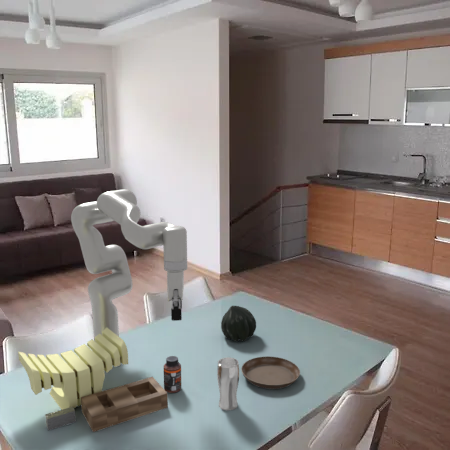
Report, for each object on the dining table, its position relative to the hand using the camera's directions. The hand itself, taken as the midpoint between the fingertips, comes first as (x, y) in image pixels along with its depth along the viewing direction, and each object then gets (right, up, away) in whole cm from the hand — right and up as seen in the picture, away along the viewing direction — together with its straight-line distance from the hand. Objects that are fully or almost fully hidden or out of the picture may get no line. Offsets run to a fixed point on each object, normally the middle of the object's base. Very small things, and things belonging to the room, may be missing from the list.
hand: (176, 314), depth 159 cm
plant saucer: (+32, -25, +13) cm, 43 cm away
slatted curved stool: (-33, -28, 0) cm, 43 cm away
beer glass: (+17, -29, -5) cm, 33 cm away
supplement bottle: (-2, -27, +5) cm, 27 cm away
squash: (+22, -18, +44) cm, 52 cm away
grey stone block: (-33, -31, -14) cm, 48 cm away
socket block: (-16, -29, -7) cm, 34 cm away
